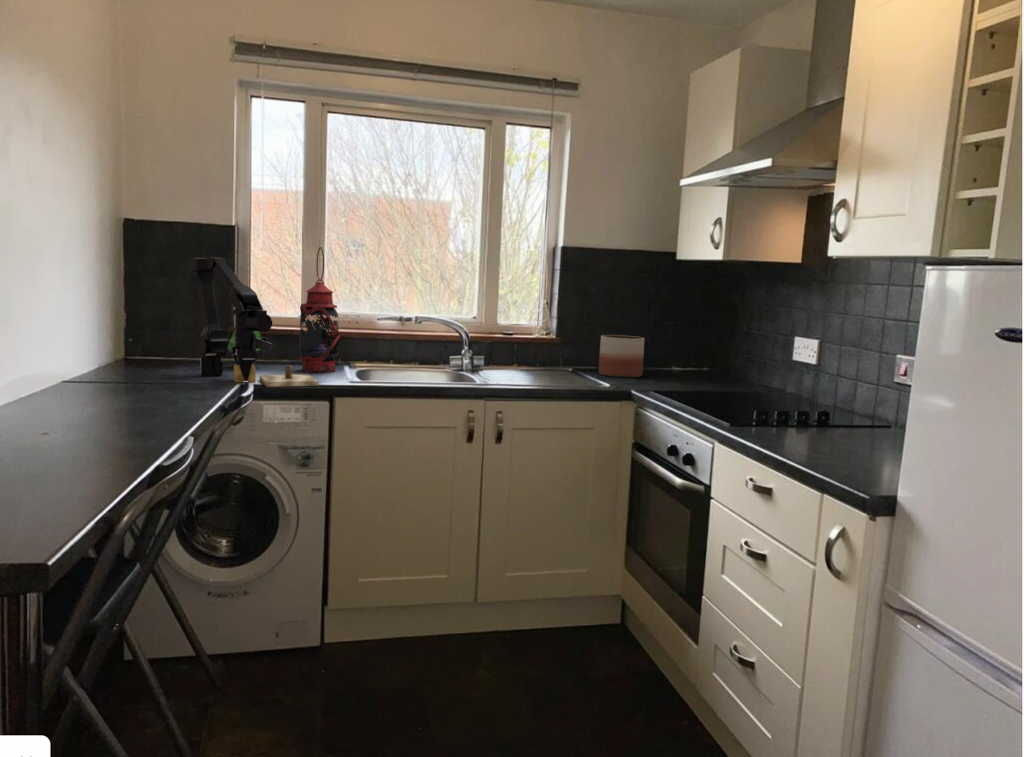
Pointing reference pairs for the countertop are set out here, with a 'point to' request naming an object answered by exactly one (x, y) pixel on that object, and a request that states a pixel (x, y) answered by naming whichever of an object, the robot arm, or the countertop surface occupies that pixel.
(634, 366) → the planter
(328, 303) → the lantern
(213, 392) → the countertop surface
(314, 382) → the post board
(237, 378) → the wooden crate frame
